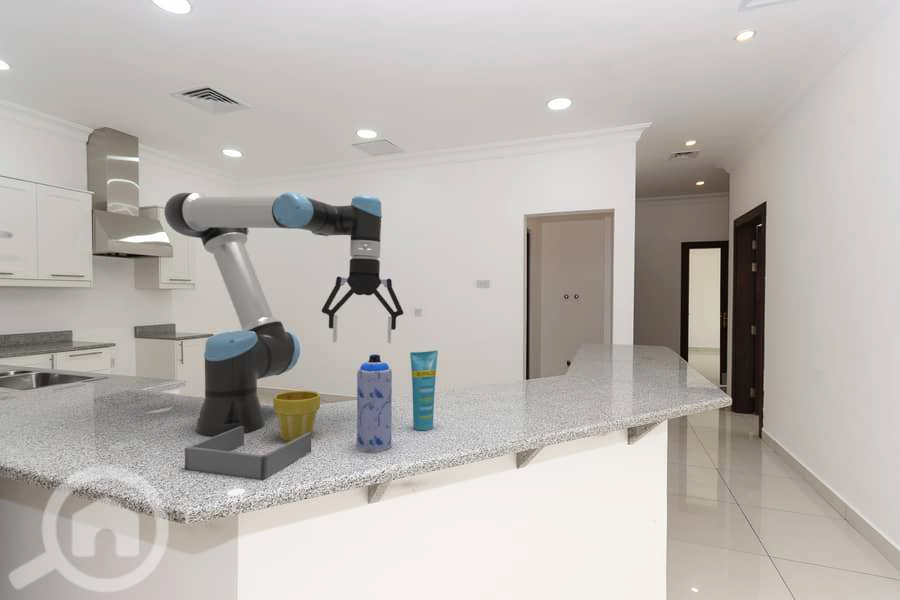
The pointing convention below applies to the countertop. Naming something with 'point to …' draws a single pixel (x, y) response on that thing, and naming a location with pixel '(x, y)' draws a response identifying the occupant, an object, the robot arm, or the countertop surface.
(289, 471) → the countertop surface
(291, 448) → the frame
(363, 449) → the aerosol can
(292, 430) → the plant pot
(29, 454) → the countertop surface
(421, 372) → the tube
